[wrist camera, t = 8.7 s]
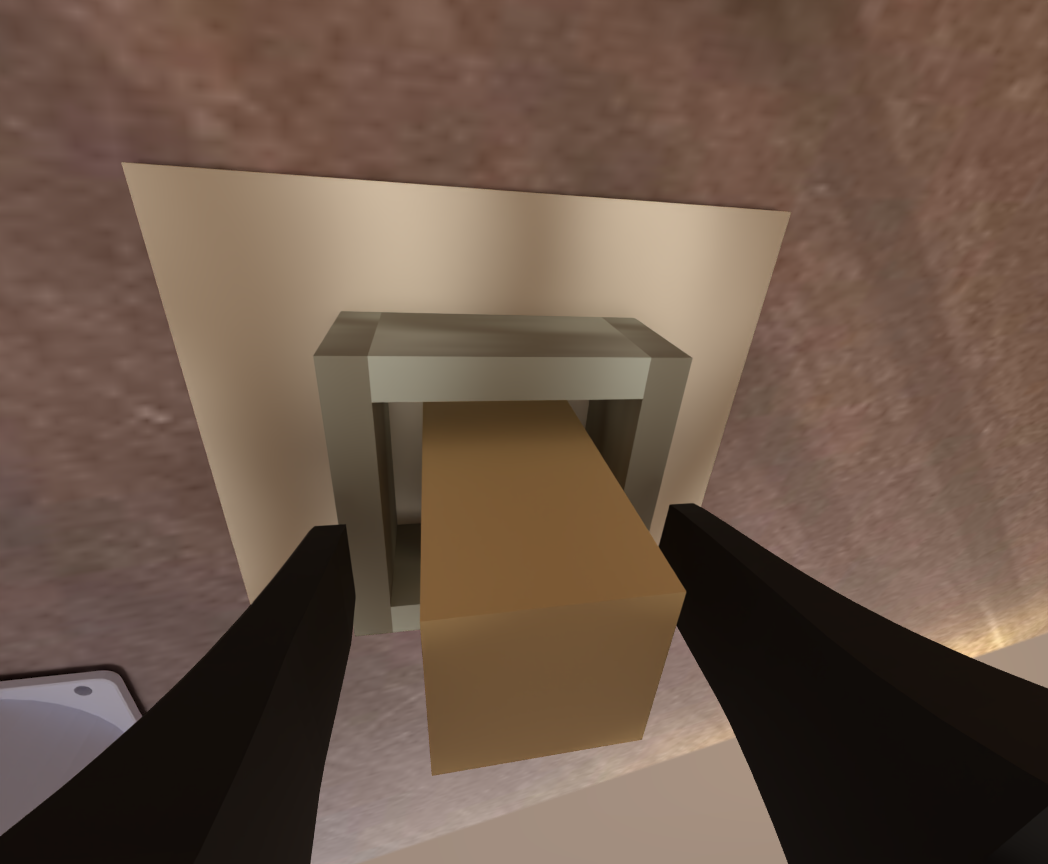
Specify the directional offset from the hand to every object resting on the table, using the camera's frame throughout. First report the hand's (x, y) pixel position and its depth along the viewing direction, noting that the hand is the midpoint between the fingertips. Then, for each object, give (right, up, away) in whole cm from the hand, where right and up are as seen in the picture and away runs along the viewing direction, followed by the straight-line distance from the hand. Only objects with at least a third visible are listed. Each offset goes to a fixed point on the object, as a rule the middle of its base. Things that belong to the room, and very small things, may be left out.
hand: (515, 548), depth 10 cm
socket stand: (-1, +3, +5) cm, 5 cm away
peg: (-1, +2, +4) cm, 5 cm away
